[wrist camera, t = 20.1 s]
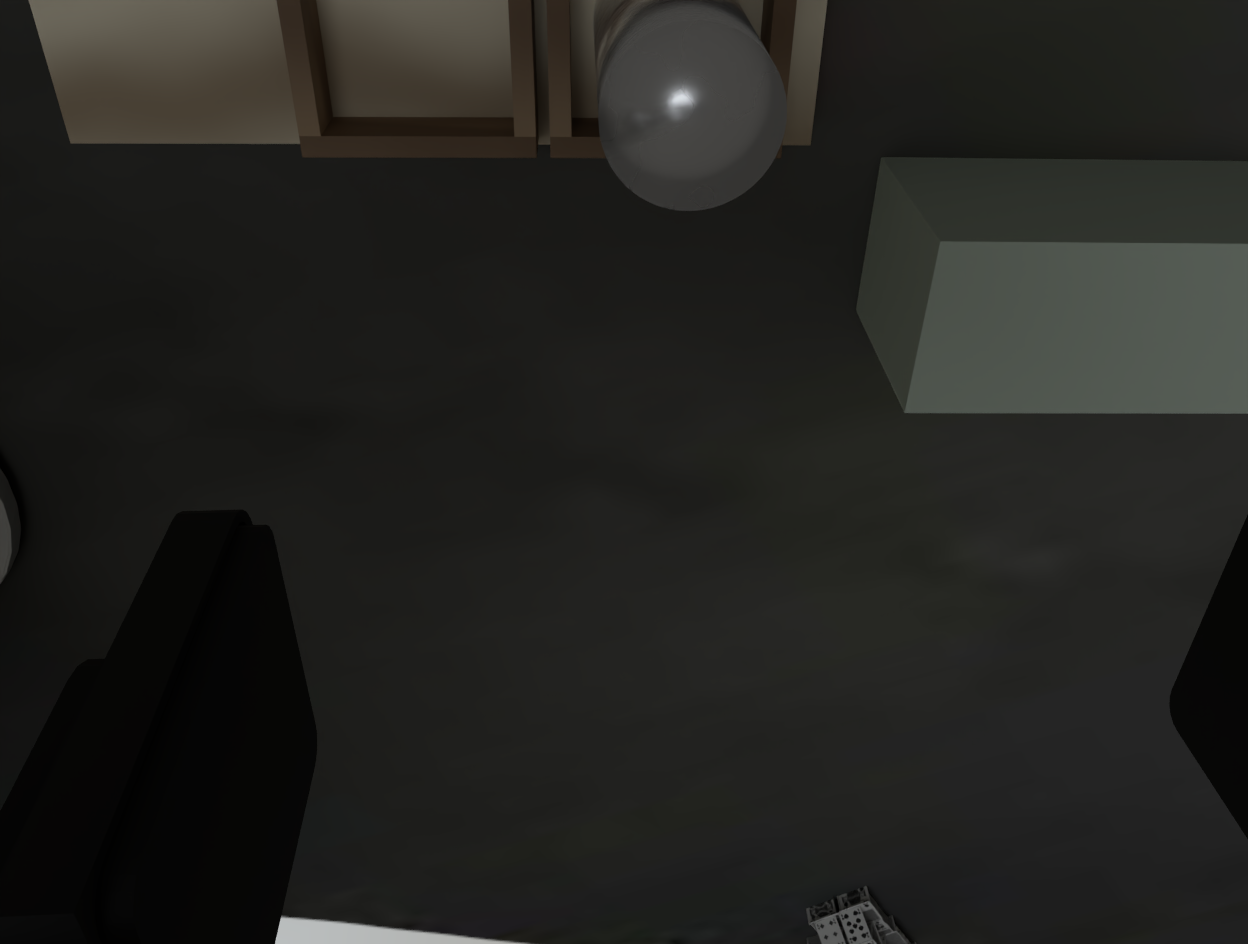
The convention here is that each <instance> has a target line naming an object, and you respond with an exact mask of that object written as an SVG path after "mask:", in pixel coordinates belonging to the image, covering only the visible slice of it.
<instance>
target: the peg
mask: <svg viewBox="0 0 1248 944" xmlns="http://www.w3.org/2000/svg"><path fill="white" fill-rule="evenodd" d="M593 28H594V47H595V66H596V85H597V103H598V122H599V134H600V139H601V144H602V147H603V150H604V153H605V156H606V158H607V160H608V162H609V164H610V166H611V168H612V169H613V171H614V172H615V174H616V175H617V177H618V178H619V179H620V180H621V181H622V182H623V184H624V185H625V186H626V187H628V188H629V189H630V190H631V191H632V192H633V193H635V194H636V195H638V196H639V197H641V198H642V199H644V200H646V201H648V202H650V203H652V204H654V205H657V206H660V207H663V208H667V209H672V210H680V211H696V210H704V209H709V208H713V207H716V206H719V205H723V204H725V203H727V202H729V201H731V200H733V199H735V198H737V197H738V196H740V195H742V194H743V193H745V192H746V191H747V190H748V189H750V188H751V187H752V186H753V185H754V184H755V183H756V182H757V181H758V180H759V179H760V178H761V177H762V176H763V175H764V174H765V172H766V171H767V170H768V168H769V167H770V165H771V164H772V162H773V160H774V159H775V157H776V155H777V153H778V150H779V148H780V146H781V143H782V140H783V136H784V133H785V127H786V121H787V103H786V94H785V90H784V85H783V82H782V79H781V77H780V74H779V72H778V70H777V68H776V66H775V64H774V62H773V61H772V59H771V57H770V55H769V54H768V52H767V50H766V49H765V47H764V45H763V43H762V42H761V40H760V38H759V37H758V35H757V33H756V31H755V30H754V28H753V26H752V25H751V23H750V21H749V19H748V18H747V16H746V14H745V13H744V11H743V9H742V7H741V6H740V4H739V2H738V0H596V2H595V8H594V16H593Z"/></svg>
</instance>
